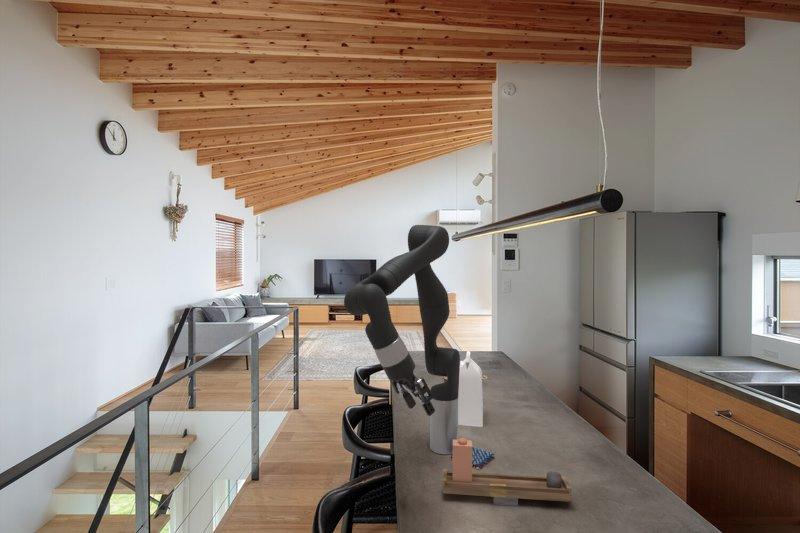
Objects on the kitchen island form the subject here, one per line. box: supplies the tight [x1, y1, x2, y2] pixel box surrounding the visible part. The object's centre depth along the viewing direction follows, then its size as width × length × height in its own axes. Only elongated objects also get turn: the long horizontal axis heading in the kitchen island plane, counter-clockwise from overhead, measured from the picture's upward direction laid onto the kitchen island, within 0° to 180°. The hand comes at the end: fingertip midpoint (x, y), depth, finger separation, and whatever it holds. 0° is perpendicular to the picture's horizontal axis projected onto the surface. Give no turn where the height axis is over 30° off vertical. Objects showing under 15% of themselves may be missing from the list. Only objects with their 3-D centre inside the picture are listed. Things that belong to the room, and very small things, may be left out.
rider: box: [452, 436, 473, 483], centre depth 112 cm, size 4×5×11 cm
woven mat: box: [450, 446, 495, 470], centre depth 133 cm, size 10×11×2 cm
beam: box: [442, 468, 572, 507], centre depth 111 cm, size 6×32×7 cm, turn 84°
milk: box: [458, 350, 484, 428], centre depth 164 cm, size 12×12×26 cm
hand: (421, 409), depth 109 cm, fingers open, 8 cm apart
